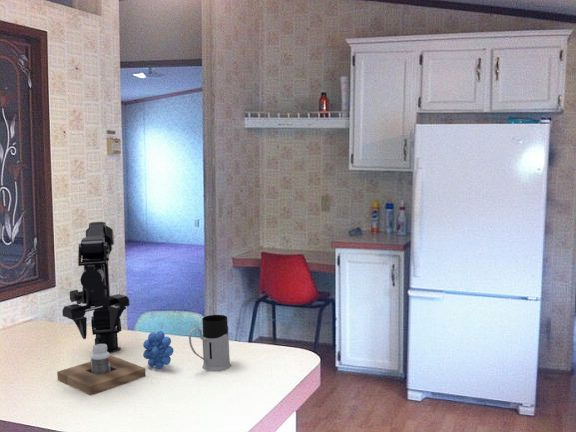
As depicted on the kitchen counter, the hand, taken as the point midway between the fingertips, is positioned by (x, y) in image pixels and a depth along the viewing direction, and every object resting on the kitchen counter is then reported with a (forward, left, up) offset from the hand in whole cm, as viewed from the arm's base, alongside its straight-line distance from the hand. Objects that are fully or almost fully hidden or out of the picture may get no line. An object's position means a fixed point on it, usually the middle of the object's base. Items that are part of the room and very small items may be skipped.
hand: (98, 335), depth 191 cm
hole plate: (0, 0, -13) cm, 13 cm away
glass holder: (-25, +19, -13) cm, 34 cm away
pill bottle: (0, 0, -13) cm, 13 cm away
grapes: (-16, +7, -13) cm, 22 cm away
